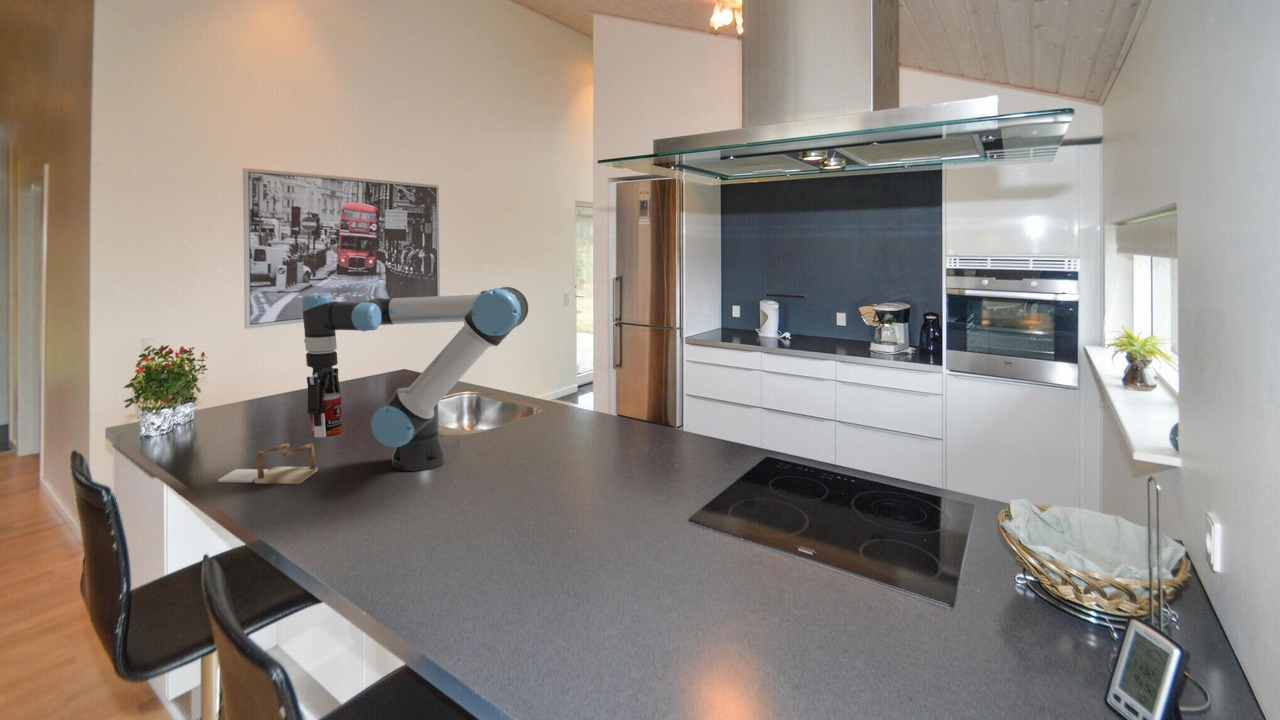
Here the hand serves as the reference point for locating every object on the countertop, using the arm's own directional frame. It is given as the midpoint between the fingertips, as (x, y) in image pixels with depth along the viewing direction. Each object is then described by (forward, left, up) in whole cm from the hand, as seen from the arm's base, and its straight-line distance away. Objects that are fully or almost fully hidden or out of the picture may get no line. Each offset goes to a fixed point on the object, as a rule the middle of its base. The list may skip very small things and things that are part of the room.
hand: (327, 432), depth 173 cm
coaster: (+23, +1, -13) cm, 26 cm away
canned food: (0, 0, 0) cm, 0 cm away
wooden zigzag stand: (+11, 0, -13) cm, 17 cm away
